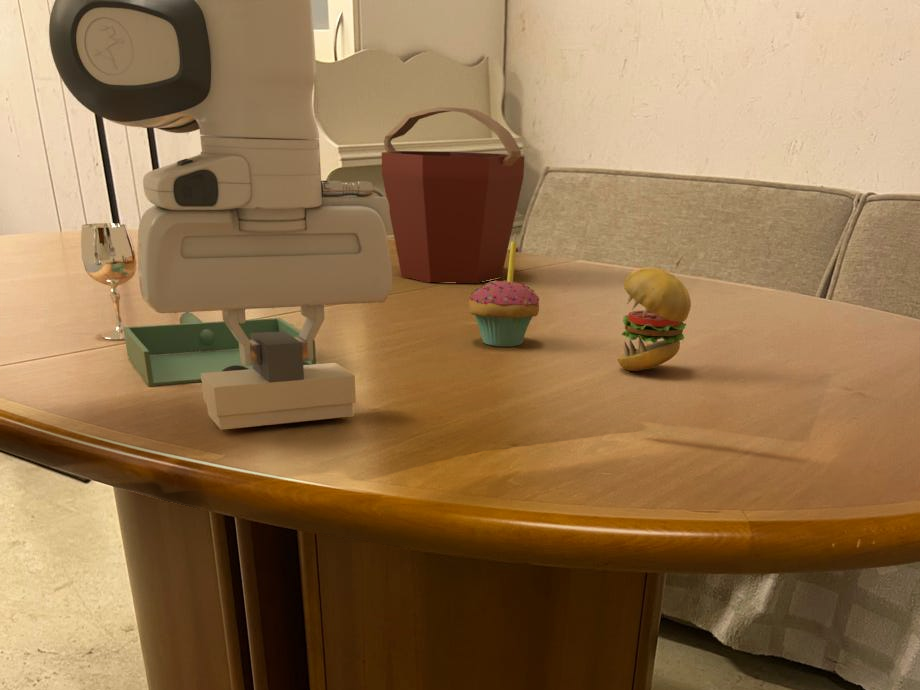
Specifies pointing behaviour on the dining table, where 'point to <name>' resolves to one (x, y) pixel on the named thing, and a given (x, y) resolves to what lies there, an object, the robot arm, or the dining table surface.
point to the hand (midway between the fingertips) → (276, 362)
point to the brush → (278, 388)
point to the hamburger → (654, 317)
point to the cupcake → (504, 308)
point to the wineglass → (109, 261)
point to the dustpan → (192, 347)
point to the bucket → (452, 205)
